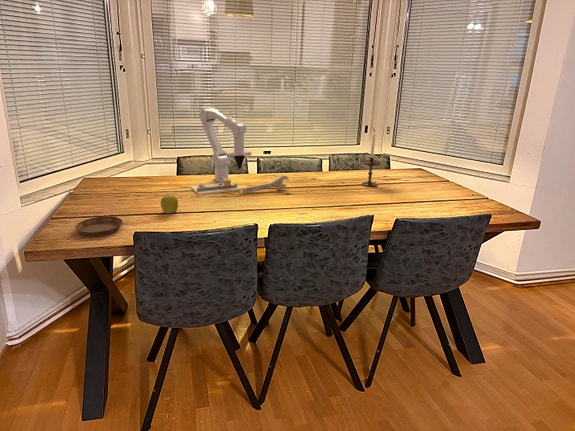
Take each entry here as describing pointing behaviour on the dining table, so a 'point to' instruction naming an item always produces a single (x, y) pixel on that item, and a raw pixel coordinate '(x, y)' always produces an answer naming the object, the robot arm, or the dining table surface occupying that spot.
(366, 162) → the candlestick
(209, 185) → the hole plate
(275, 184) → the wrench
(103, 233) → the plant saucer
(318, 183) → the dining table surface
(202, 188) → the bar
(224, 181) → the leg
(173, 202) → the apple
